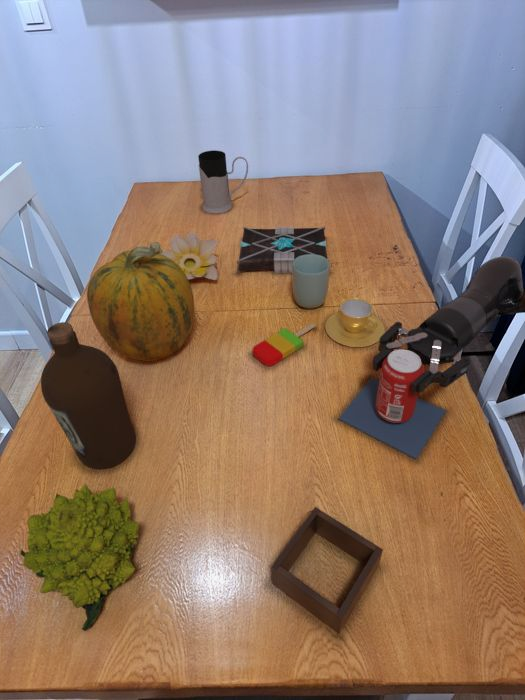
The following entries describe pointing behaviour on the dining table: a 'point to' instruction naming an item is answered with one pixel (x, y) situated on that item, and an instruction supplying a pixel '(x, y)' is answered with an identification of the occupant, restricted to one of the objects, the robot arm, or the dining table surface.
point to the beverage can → (398, 386)
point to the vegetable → (83, 547)
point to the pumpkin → (142, 303)
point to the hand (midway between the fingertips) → (393, 377)
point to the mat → (396, 435)
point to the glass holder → (216, 181)
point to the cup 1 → (310, 280)
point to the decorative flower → (193, 256)
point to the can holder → (341, 539)
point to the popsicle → (279, 346)
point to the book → (279, 247)
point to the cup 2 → (355, 324)
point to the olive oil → (87, 400)
